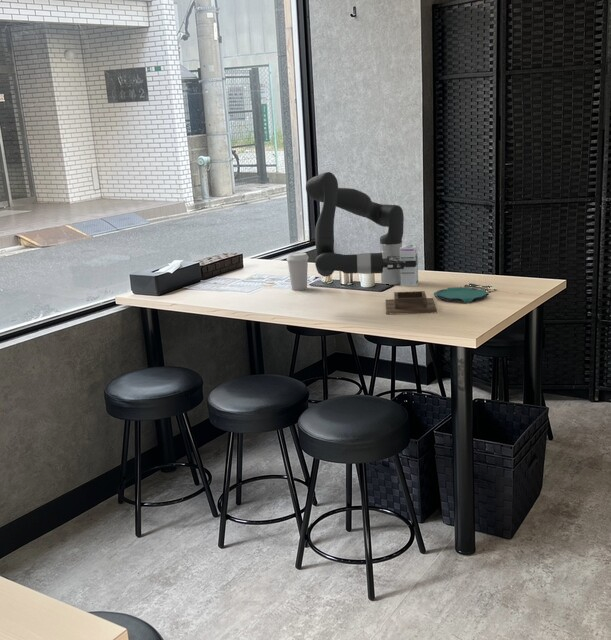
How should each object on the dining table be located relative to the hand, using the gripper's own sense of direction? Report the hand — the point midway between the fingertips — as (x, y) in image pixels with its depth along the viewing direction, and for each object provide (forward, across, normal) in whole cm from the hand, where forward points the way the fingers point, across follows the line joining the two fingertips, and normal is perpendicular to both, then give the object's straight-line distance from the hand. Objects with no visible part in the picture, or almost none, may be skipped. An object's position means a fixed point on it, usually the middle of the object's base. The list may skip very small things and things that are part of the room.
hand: (415, 262), depth 282 cm
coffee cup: (-47, +40, +18) cm, 65 cm away
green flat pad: (+21, +18, +18) cm, 33 cm away
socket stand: (-2, 0, +17) cm, 17 cm away
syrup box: (-2, 0, +9) cm, 9 cm away
